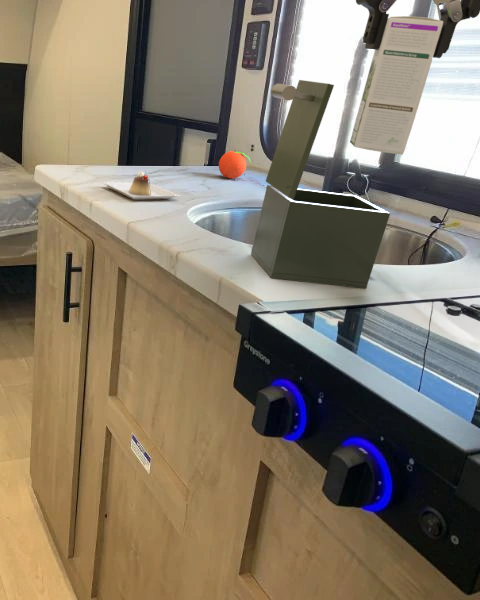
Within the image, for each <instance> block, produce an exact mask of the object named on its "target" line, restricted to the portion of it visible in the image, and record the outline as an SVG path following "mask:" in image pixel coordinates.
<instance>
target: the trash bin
mask: <svg viewBox="0 0 480 600" xmlns="http://www.w3.org/2000/svg"><path fill="white" fill-rule="evenodd" d="M264 192H265V193H264V197H263V201H262V206H261V210H260V214H259V218H258V221H257V222H258V223H257V226H256V231H255V235H254V239H253V244H252V247H251V251H250V255H251V256H252V257H253V258H254V260H255V261H256V262H257V263H258V265H259V266H260V267H261V268H262V269H263V270H264V272H265V273H266V274H267V275H268V276H269V277H270V279H277V280H286V281H294V282H305V283H313V284H323V285H329V286H330V285H331V286H340V287H349V288H358V289H367V287H368V284H369V281H370V277H371V276H372V275H371V274H372V271H373V268H374V265H375V263H376V259H377V256H378V253H379V250H380V247H381V244H382V241H383V237H384V234H385V231H386V229H387V226H388V222H389V219H390V216H391V213H390V212H389V211H387V210H385V209H383V208H381V207H379V206H377V205H375V204H373V203H371V202H370V201H368V200H366V199H364V198H362V197H360V196H358V195H355V194H346V193H338V192H329V191H321V190H313V189H303V188H297V191H296V194H295V197H294V199H293V198H288V197H287V196H286V195H284V194H283V193H281V192H280V191H279V190H277V189H276V188H274V187H273V186H271V185H270V184H267V185H266V189H265V191H264Z"/></svg>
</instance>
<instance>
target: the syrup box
mask: <svg viewBox="0 0 480 600" xmlns="http://www.w3.org/2000/svg"><path fill="white" fill-rule="evenodd" d="M442 26H443V21H440V20H439V19H436V18H431V17H424V16H412V15H411V16H409V15H408V16H407V15H401V16H400V15H399V16H389V17H388V20H387V23H386V27H385V30H384V34H383V37H382V41H381V44H380V47H379V49H378V50H373V51H374V52H373V55H372V59H371V62H370V67H369V70H368V74H367V77H366V82H365V85H364V89H363V92H362V95H361V99H360V103H359V107H358V111H357V114H356V117H355V122H354V125H353V128H352V131H351V132H352V133H351V136H350V140H349V143H350V144H351V145H352V146H353V147H354V148H356V149H357V148H358V149H361V150H366V151H372V152H379V153H387V154H392V155H393V154H394V155H402V156H403V155H404V153H405V150H406V147H407V144H408V141H409V137H410V135H411V131H412V128H413V125H414V122H415V118H416V115H417V113H418V110H419V106H420V103H421V99H422V97H423V92H424V89H425V86H426V82H427V79H428V76H429V72H430V69H431V66H432V62H433V60H434V58H433V55H434V52H435V49H436V45H437V42H438V39H439V36H440V32H441V29H442Z"/></svg>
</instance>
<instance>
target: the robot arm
mask: <svg viewBox="0 0 480 600" xmlns="http://www.w3.org/2000/svg"><path fill="white" fill-rule="evenodd" d="M432 1H433V3H434V4H435V5H436V10H437V15H438V20H440V21H443V26H442V29H441V32H440V36H439V39H438V42H437V45H436V49H435V52H434V55H433V59H441V58H442V56H443V54H446V53H447V52H448V50H449V48H450V45H451V42H452V39H453V37H454V33H455V30H456V28H457V25H458V23H460V22H461V21H464V20H467V19H475V18H476V17H477V18H478V16H479V15H480V0H432ZM396 2H397V0H355V3H356V4H357V5H358V6H362V7H364V8H365V9H367V11H368V18H367V22H366V25H365V30H364V33H363V37H362V43H363V44H365V47H364V48H365V50H369V51H375V50H378V49H379V47H380V44H381V41H382V37H383V34H384V30H385V27H386V23H387V20H388V18H389V17H390V16H389V15H390V13H387V12H388V11H389V10H390V9H391V7H393V6H394V4H395V3H396Z"/></svg>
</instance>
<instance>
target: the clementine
mask: <svg viewBox="0 0 480 600" xmlns="http://www.w3.org/2000/svg"><path fill="white" fill-rule="evenodd" d="M246 158H248V160H249V163H250V164H252V162H251V158H250V157H249V156H248V155H247V154H245V153H243V152H240V151H237V150H234V151H233V150H229V151H227V152H225V153H224V154H223V155H222V156H221V158H220V159H219V161H218V170H219V172H220V174H221V175H222V176H223V177H224V178H226V179H231V180H234V179H237V178H240V177H241V176H242V175H243V174H244V173H245V171H246V168H247V160H246Z"/></svg>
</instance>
